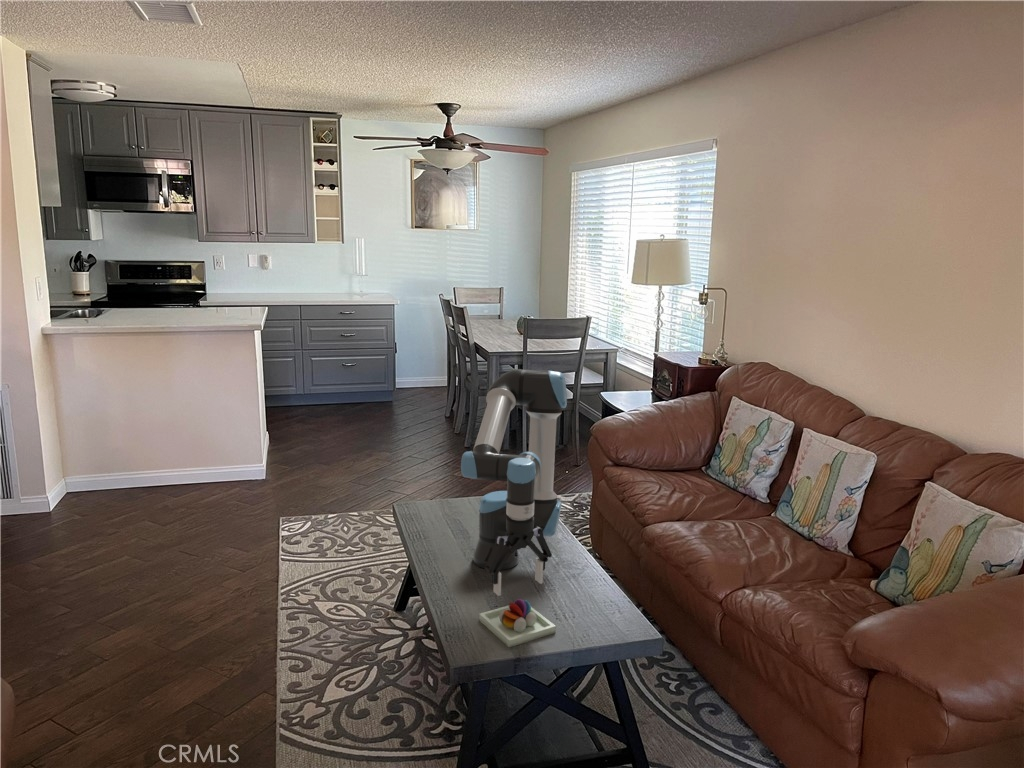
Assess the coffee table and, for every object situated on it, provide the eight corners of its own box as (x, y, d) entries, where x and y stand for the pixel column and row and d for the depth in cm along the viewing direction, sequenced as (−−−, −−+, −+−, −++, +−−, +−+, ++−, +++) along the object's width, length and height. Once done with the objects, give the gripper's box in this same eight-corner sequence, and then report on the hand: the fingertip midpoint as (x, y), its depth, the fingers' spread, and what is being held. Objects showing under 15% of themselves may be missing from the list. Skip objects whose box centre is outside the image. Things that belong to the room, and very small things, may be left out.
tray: (479, 620, 204) (479, 613, 204) (523, 607, 212) (524, 601, 212) (509, 647, 191) (509, 640, 191) (555, 632, 199) (555, 625, 199)
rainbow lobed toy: (494, 624, 201) (495, 600, 200) (518, 613, 208) (519, 589, 206) (516, 637, 195) (517, 612, 194) (540, 624, 202) (541, 600, 201)
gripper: (487, 530, 186) (485, 605, 190) (565, 511, 199) (562, 582, 203) (472, 519, 192) (472, 592, 197) (550, 502, 205) (547, 571, 210)
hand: (518, 587), depth 200 cm, fingers open, 13 cm apart
